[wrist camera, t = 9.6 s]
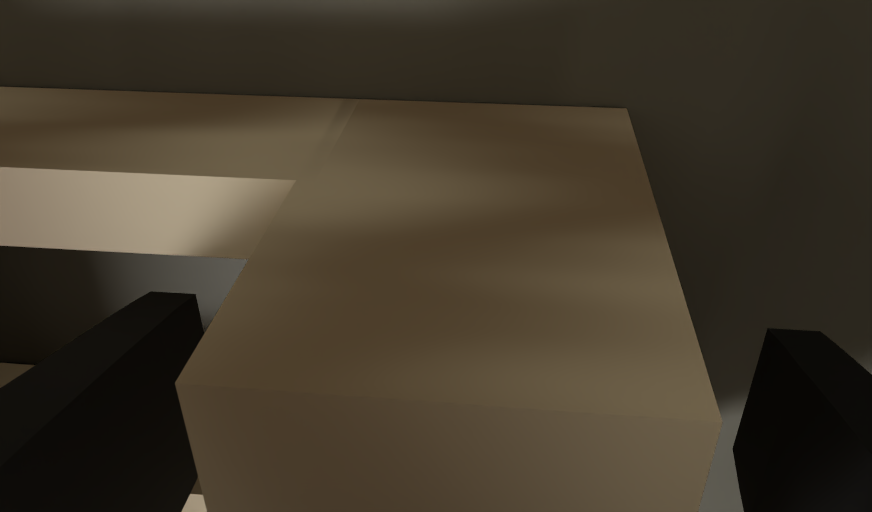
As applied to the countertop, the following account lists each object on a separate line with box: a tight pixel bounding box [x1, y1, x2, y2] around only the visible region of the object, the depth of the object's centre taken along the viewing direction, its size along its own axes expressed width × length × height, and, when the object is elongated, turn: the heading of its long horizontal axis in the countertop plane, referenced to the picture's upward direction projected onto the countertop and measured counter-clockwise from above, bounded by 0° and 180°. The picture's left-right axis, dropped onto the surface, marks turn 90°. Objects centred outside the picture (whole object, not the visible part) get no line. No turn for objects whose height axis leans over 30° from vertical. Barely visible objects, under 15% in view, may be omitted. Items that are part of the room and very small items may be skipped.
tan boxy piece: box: [0, 87, 723, 512], centre depth 9 cm, size 12×9×6 cm
